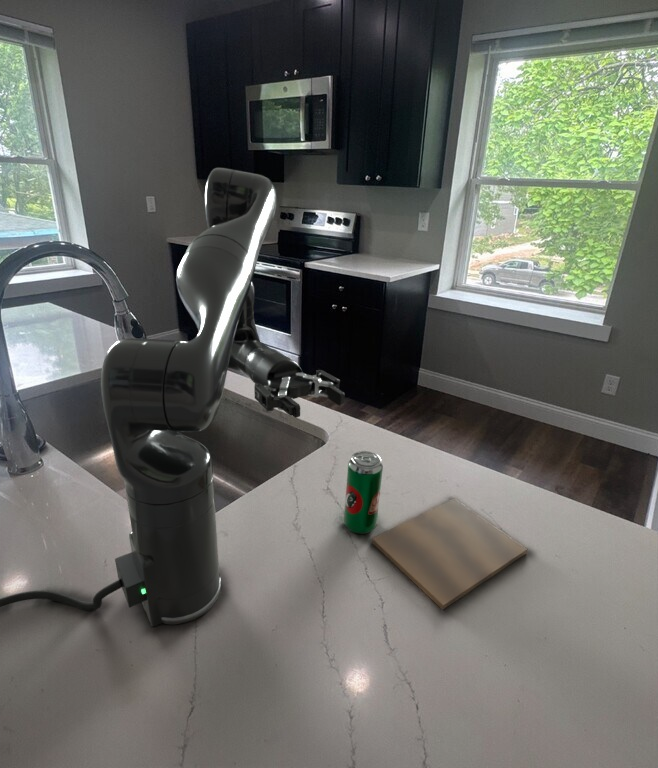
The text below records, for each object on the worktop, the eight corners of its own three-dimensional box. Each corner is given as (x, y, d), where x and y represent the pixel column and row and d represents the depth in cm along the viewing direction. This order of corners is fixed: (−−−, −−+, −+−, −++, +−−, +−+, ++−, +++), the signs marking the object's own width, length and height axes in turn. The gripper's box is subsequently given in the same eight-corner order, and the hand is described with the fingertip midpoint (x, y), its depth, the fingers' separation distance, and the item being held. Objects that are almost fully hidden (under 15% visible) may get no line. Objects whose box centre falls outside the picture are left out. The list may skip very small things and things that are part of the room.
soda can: (374, 538, 69) (381, 471, 65) (340, 532, 70) (345, 465, 65) (378, 516, 74) (385, 452, 69) (346, 511, 75) (351, 447, 70)
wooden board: (442, 610, 58) (443, 605, 58) (371, 542, 69) (371, 538, 68) (526, 553, 68) (527, 549, 68) (453, 501, 79) (454, 498, 78)
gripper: (236, 359, 81) (282, 394, 69) (305, 346, 89) (357, 376, 77) (237, 397, 84) (282, 437, 72) (304, 382, 92) (354, 416, 80)
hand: (321, 405), depth 75 cm, fingers open, 8 cm apart
